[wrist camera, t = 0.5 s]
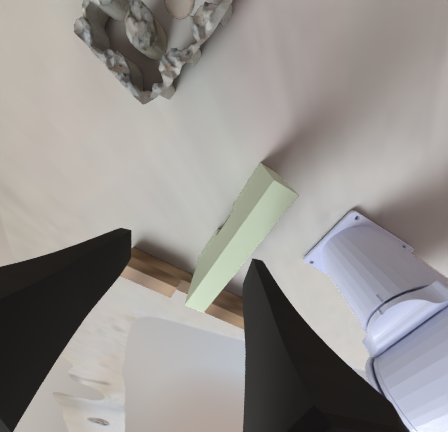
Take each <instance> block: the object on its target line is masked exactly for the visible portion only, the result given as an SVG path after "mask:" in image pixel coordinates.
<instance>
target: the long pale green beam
mask: <svg viewBox="0 0 448 432" xmlns="http://www.w3.org/2000/svg"><path fill="white" fill-rule="evenodd" d="M298 196H299V195H298V194H297V193H296V192H295V191H294V190H293V189H292V188H291V187H290V186H289V185H288V184H287V183H286V182H285V181H284V180H283V179H282V178H281V177H280V176H279V175H278V174H277V173H276V172H274V171H273V170H271V169H270V168H268V167H266V166H265V165H263V164H262V163H260V164H259V165H258V167H257V169H256V170H255V172H254V173H253V175H252V176H251V178H250V179H249V181H248V182H247V184H246V185H245V187H244V189H243V190H242V192H241V193H240V195H239V196H238V198H237V199H236V201H235V202H234V204H233V212H232V214H231V215H230V217H229V218H228V220H227V221H226V223H225V224H224V226H223V227H222V229H221V230H219V229H217V230H216V232H215V233H214V235H213V236H212V238H211V239H210V241H209V242H208V244H207V246H206V247H205V249H204V250H203V252H202V253H201V255H200V256H199V258H198V261H197V264H196V268H195V271H194V275H193V278H192V282H191V285H190V288H189V292H188V295H187V299H186V302H185V306H187V307H190V308H192V309H194V310H197V311H199V312H201V313H204V312H205V310H206V309H207V308H208V307H209V305H210V304H211V303H212V302H213V301H214V299H215V298H216V297H217V296H218V294H219V293H220V292H221V291H222V289H223V288H224V287H225V286H226V285H227V283H228V282H229V281H230V280H231V278H232V277H233V276H234V275H235V273H236V272H237V271H238V270H239V268H240V267H241V266H242V265H243V264H244V262H245V261H246V260H247V259H248V257H249V256H250V255H251V254H252V252H253V251H254V250H255V249H256V248H257V246H258V245H259V244H260V243H261V241H262V240H263V239H264V238H265V236H266V235H267V234H268V233H269V231H270V230H271V229H272V228H273V227H274V225H275V224H276V223H277V222H278V220H279V219H280V218H281V217H282V215H283V214H284V213H285V212H286V211H287V209H288V208H289V207H290V206H291V204H292V203H293V202H294V201H295V199H296V198H297V197H298Z"/></svg>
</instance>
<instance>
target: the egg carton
mask: <svg viewBox="0 0 448 432" xmlns="http://www.w3.org/2000/svg"><path fill="white" fill-rule="evenodd" d="M232 1H233V0H223V1H221V3H220V4H219V5H215V4H212V3H207V2H205V3H204V5H202V6H200V7H199V8H198V10H197V11H196V13H195V15H194V16H190V19H191V30H192V33H193V35H194V38H195V40H196V42H197V43H196V44H190V46H189V48H188V49H185V48H184V49H183V50H182V51H179V50H178V49H177V48H171V49H170V52H169V53H167V54H165V52H166V48H167V40H166V35H165V32H164V30H163V29H162V27H161V26H160V24H159V23H158V22H157V20H156V19H155V17H154V16H153V14H152V13H151V11H150V10H149V9H148V8H147V6H146V5H145V4H144V3H143V2H142V1H141V0H84V1H83V4H82V12H83V17H81V18H79V19H76V22H75V24H74V32H75V33H76V34H77V35H78V37H80V38H81V39H82V40H83V41H84V42H85V43H86V44H87V45H88V46H89V48H90V49H91V50H92V52H93V53H94V54H95V55H96V56H97V57H98V58H99V59H100V60H101V61H102V62H103V63H104V64H105V66H106V67H107V68H108V69H109V70H110V71H111V72H112V73H113V74H114V75H115V77H116V78H117V79H118V80H119V81H120V82H121V83H122V84H123V85H124V86H125V88H127V89H128V90H129V91H130V92H131V93H132V94H133V96H134V97H135V98H136V99H137V100H139V101H140V102H141V103H142V104H146V103H148V102H149V101H151V100H153V99H154V98H156V97H157V96H158V95H160V96H163V97H165V98H166V99H170V98H171V97H172V96H173V94H174V93H175V88H174V86H173V84H172V82H173V79H174V78H176V77H178V75H179V74H180V70H181V67H182V65H184V64H185V63H186V62H189V63H190V64H192V65H193V66H194V65H195V64H196V63H197V62H198V60H199V59H200V58H201V56H202V54H201V51H200V48H199V47H200V46H201V45H202V44H203V43H204V42H205V41H206V40H207V39H208V38H209V37H210V35H211V34H212V33H213V32H214V30H215V29H216V27H217V25H218V24H219V23H220V24H221V25H222V26H224V25H225V24H226V22H227V21H228V20H229V18H230V17H231V15H232ZM165 4H166V8H167V10H168V12H169V13H170V14H171V15H172V16H173V17H175V18H177V19H184V18H186V17H187V16H189V15H190V13H191V12H192V10H193V7H194V0H165ZM109 17H112V18H113V19H115V20H117V21H124V24H125V29H126V34H127V37H128V38H129V40H130V42H131V44H132V45H133V46H134V47H135V48H137V49H138V50H139V51H140V52H142V53H143V54H144V55H145V56H147V57H148V58H150V59H153V60H158V59H160V58H161V60H160V66H159V70H160V73H161V75H162V79H163V83H161V84H160V83H154V84H153V85H152V91H145V92H144V91H143V76H142V72H141V70H140V68H139V67H138V66H137V65H136V64H135V63H133V62H131V61H130V60H128V59H127V58H125V57H124V56H123V55H122V54H121V53H119V52H118V51H116V52H113V51H112V50H110V42H109V38H108V36H107V34H106V32H105V31H104V28H105V24H106V22H107V20H108V19H109ZM188 50H190V53H189V54H187V51H188ZM164 54H165V55H164Z"/></svg>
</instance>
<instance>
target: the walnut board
mask: <svg viewBox="0 0 448 432" xmlns="http://www.w3.org/2000/svg"><path fill="white" fill-rule="evenodd" d="M120 276H121V277H124V278H126V279H128V280H131V281H133V282H135V283H137V284H140V285H142V286H144V287H147V288H149V289H151V290H154V291H156V292H158V293H161V294H163V295H165V296H168V297H170V298H171V296H172V295H173V293H174V292H175V290H176V289H177V290H179V291H181V292H184V293H186V294H188V292H189V288H190V285H191V282H192V278H193V275H192V274H190V273H187V272H185V271H183V270H181V269H179V268H177V267H174V266H172V265H170V264H168V263H166V262H164V261H162V260H159V259H157V258H155V257H153V256H151V255H149V254H147V253H144V252H142V251H140V250H138V249H136V248H134V247H133V248H132V249H131V259H130V261H129V263H128V264H127V266H126V267H125V269H124V270H123V272H122V273H121V275H120ZM205 313H207V314H209V315H212V316H214V317H216V318H219V319H221V320H223V321H226V322H228V323H230V324H233V325H235V326H237V327H240V328H242V329H244V317H243V303H242V298H241V297H239V296H237V295H235V294H233V293H230V292H228V291H226V290H224V289H222V291H221V292H220V293H219V294H218V296H217V297H216V298H215V299H214V301H213V302H212V303H211V304H210V305H209V307H208V308H207V309H206V310H205Z"/></svg>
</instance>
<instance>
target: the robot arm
mask: <svg viewBox="0 0 448 432" xmlns="http://www.w3.org/2000/svg"><path fill="white" fill-rule="evenodd" d="M356 216H358V217H357V218H356V219H355V217H356ZM413 252H414V248H413V247H411V246H410V245H408V244H407V243H405V242H403V241H402V240H400V239H399V238H397V237H396V236H394V235H393V234H391V233H389V232H388V231H386V230H385V229H383V228H382V227H380V226H378V225H377V224H375V223H374V222H372V221H371V220H369V219H368V218H366V217H364V216H363V215H361V214H360V213H358V212H357V211H355V210H352V211H350V212H349V213H348V214H347V215H346V216H345V217H344V218H343V219H342V220H341V221H340V222H339V223H338V224H337V225H336V226H335V227H334V228H333V229H332V230H331V231H330V232H329V233H328V234H327V235H326V236H325V237H324V238H323V239H322V240H321V241H320V242H319V243H318V244H317V245H316V246H315V247H314V248H313V249H312V250H311V251H310V252H309V253H308V254H307V255H306V256H305V257H304V261H305V263H307V264H309V265H311V266H312V267H314V268H316V269H318V270H320V271H322V272H324V273H325V274H327V275H329V276H330V278H331V280H332V281H333V283H334V284H335V286H336V287H337V289H338V290H339V292H340V293H341V295H342V297H343V298H344V300H345V301H346V303H347V304H348V306H349V307H350V309H351V310H352V312H353V313H354V315H355V317H356V318H357V320H358V321H359V323H360V324H361V326H362V327H363V329H364V330H365V332H366V334H367V336H366V337H365V339H363V341H362V342H363V344H364V346H365V347H366V349H367V351H368V352H369V354H370V356H371V357H369V358H368V360H367V362H366V366H365V369H366V376H367V380H368V382H366V381H365V380H364V379H363V378H362V377H361V376H359V375H358V374H357V373H356V372H355V371H354V370H353V369H352V368H351V367H350V366H348V365H347V364H346V363H345V362H344V361H343V360H342V359H341V358H340V357H339V356H338V355H337V354H336V353H335V352H334V351H333V350H332V349H331V348H330V347H329V346H328V345H327V344H326V343H325V342H324V341H323V340H322V339H321V338H320V337H319V336H318V335H317V334H316V333H315V332H314V331H313V330H312V328H311V327H310V326H309V325H308V324H307V323H306V322H305V320H304V319H303V318H302V317H301V316H300V315H299V313H298V312H297V311H296V310H295V308H294V307H293V306H292V304H291V303H290V302H289V300H288V299H287V298H286V296H285V295H284V293H283V292H282V290H281V289H280V288H279V286H278V285H277V283H276V281H275V280H274V278H273V277H272V275H271V274H270V272H269V270H268V269H267V267H266V265H265V264H264V262H263V261H261V260H257V259H252V261H251V264H250V267H249V269H248V272H247V275H246V277H245V280H244V282H243V296H242V303H243V317H244V331H245V348H246V360H245V366H246V367H245V369H246V370H245V401H244V424H243V432H448V278H447V277H445V276H444V275H442V274H441V273H439V272H438V271H437V270H435V269H434V268H432V267H431V266H429V265H428V264H426V263H425V262H424V261H422V260H421V259H419V258H418V257H416V256H415V255H413V254H412V253H413ZM130 259H131V230H128V229H123V228H119V229H116V230H113V231H111V232H108V233H106V234H103V235H100V236H98V237H95V238H93V239H90V240H87V241H85V242H82V243H79V244H77V245H74V246H71V247H68V248H65V249H62V250H59V251H56V252H53V253H50V254H47V255H44V256H40V257H37V258H33V259H30V260H26V261H22V262H19V263H14V264H10V265H6V266H2V267H0V432H13V431H14V429H15V427H16V426H17V424H18V422H19V420H20V419H21V417H22V415H23V414H24V412H25V411H26V409H27V407H28V406H29V404H30V402H31V400H32V399H33V397H34V395H35V394H36V392H37V390H38V389H39V387H40V385H41V384H42V382H43V381H44V379H45V378H46V376H47V374H48V373H49V371H50V370H51V368H52V367H53V365H54V363H55V362H56V360H57V359H58V357H59V356H60V354H61V353H62V351H63V350H64V348H65V347H66V345H67V344H68V342H69V341H70V339H71V338H72V336H73V335H74V333H75V332H76V330H77V329H78V327H79V326H80V325H81V323H82V322H83V320H84V319H85V317H86V316H87V315H88V314H89V312H90V311H91V310H92V308H93V307H94V306H95V305H96V304H97V302H98V301H99V300H100V299H101V298H102V296H103V295H104V294H105V293H106V292H107V290H108V289H109V288H110V287H111V286H112V284H113V283H114V282H115V281H116V280H117V278H118V277H119V276H120V275H121V273H122V272H123V270H124V269H125V267H126V266H127V264H128V263H129V261H130ZM312 260H313V261H312ZM310 261H312V262H310Z"/></svg>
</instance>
